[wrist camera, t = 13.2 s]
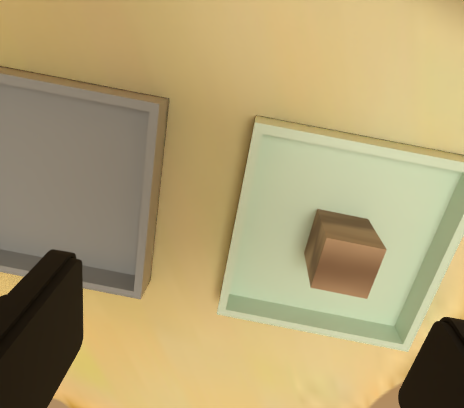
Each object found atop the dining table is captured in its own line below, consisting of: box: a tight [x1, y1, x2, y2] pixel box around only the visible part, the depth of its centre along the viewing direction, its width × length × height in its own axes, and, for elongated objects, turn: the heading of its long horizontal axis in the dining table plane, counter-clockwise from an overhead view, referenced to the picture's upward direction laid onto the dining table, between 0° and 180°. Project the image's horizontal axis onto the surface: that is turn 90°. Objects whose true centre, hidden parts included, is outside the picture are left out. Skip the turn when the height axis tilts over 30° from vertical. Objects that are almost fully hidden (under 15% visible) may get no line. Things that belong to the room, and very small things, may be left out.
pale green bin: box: [217, 115, 464, 352], centre depth 36 cm, size 20×20×4 cm
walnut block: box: [304, 209, 387, 299], centre depth 34 cm, size 5×5×6 cm
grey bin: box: [0, 66, 169, 299], centre depth 36 cm, size 20×20×4 cm
